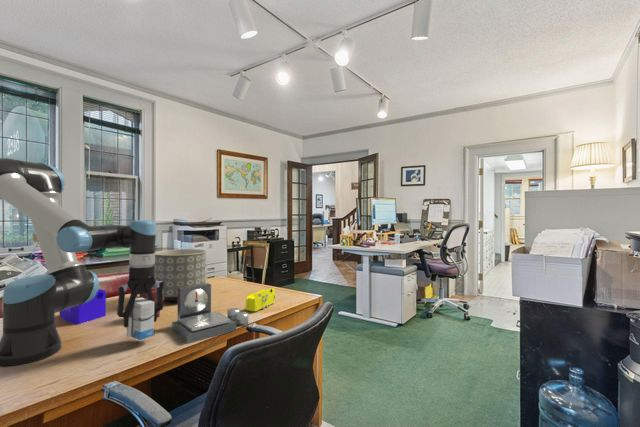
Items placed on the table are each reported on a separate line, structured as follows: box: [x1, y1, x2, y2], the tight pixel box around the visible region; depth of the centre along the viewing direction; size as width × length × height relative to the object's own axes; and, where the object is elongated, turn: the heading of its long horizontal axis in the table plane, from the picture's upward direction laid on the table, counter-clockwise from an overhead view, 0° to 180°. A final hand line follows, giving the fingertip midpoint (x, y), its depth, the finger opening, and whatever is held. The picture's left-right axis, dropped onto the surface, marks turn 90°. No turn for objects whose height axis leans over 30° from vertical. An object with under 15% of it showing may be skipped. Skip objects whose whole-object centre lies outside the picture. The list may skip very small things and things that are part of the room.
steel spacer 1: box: [226, 307, 241, 321], centre depth 129 cm, size 5×5×4 cm
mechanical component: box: [138, 287, 165, 318], centre depth 130 cm, size 12×10×10 cm
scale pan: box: [179, 310, 230, 331], centre depth 116 cm, size 14×13×1 cm
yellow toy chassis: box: [245, 287, 276, 312], centre depth 145 cm, size 16×6×8 cm, turn 155°
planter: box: [153, 248, 207, 302], centre depth 160 cm, size 25×25×24 cm
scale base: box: [171, 282, 237, 344], centre depth 117 cm, size 18×19×15 cm
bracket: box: [59, 288, 107, 325], centre depth 130 cm, size 18×11×12 cm, turn 72°
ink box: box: [127, 297, 155, 341], centre depth 105 cm, size 8×5×12 cm, turn 57°
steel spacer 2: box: [235, 311, 249, 327], centre depth 124 cm, size 5×5×4 cm
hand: (140, 333), depth 105 cm, fingers closed on ink box, 6 cm apart
